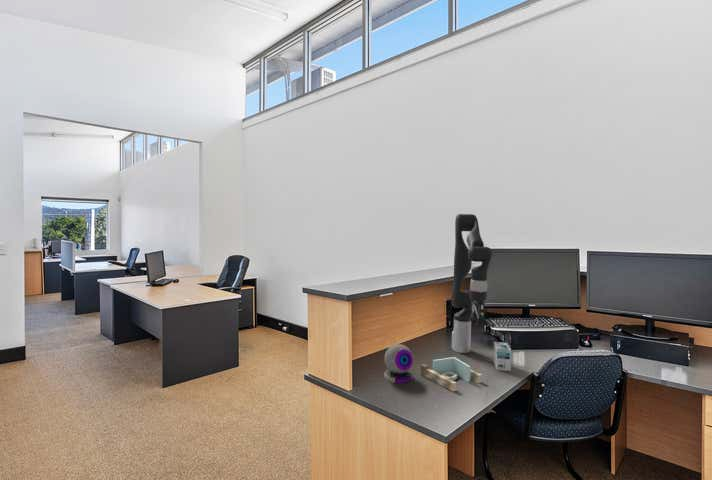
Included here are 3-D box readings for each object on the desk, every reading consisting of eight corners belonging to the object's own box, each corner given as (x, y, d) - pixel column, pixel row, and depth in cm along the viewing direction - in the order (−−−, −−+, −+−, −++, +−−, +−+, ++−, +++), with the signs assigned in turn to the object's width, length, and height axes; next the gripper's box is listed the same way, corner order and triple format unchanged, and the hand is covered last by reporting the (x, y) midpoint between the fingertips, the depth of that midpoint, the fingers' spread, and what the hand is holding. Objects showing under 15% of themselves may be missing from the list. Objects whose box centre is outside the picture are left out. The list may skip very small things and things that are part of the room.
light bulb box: (511, 371, 178) (511, 349, 178) (496, 370, 180) (497, 348, 179) (506, 363, 189) (507, 342, 188) (492, 362, 190) (493, 341, 189)
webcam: (392, 385, 162) (393, 351, 161) (379, 373, 174) (379, 342, 173) (418, 380, 167) (418, 347, 166) (403, 369, 179) (403, 339, 178)
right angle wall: (432, 375, 174) (432, 360, 173) (453, 372, 178) (454, 356, 177) (447, 386, 162) (447, 370, 162) (470, 382, 167) (470, 366, 166)
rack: (420, 374, 174) (420, 364, 173) (449, 366, 183) (449, 357, 183) (452, 391, 157) (452, 381, 156) (482, 382, 166) (482, 372, 166)
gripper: (466, 286, 181) (465, 319, 182) (474, 292, 167) (473, 327, 168) (482, 286, 180) (481, 319, 181) (491, 292, 166) (490, 328, 167)
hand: (477, 323), depth 175 cm, fingers open, 8 cm apart
